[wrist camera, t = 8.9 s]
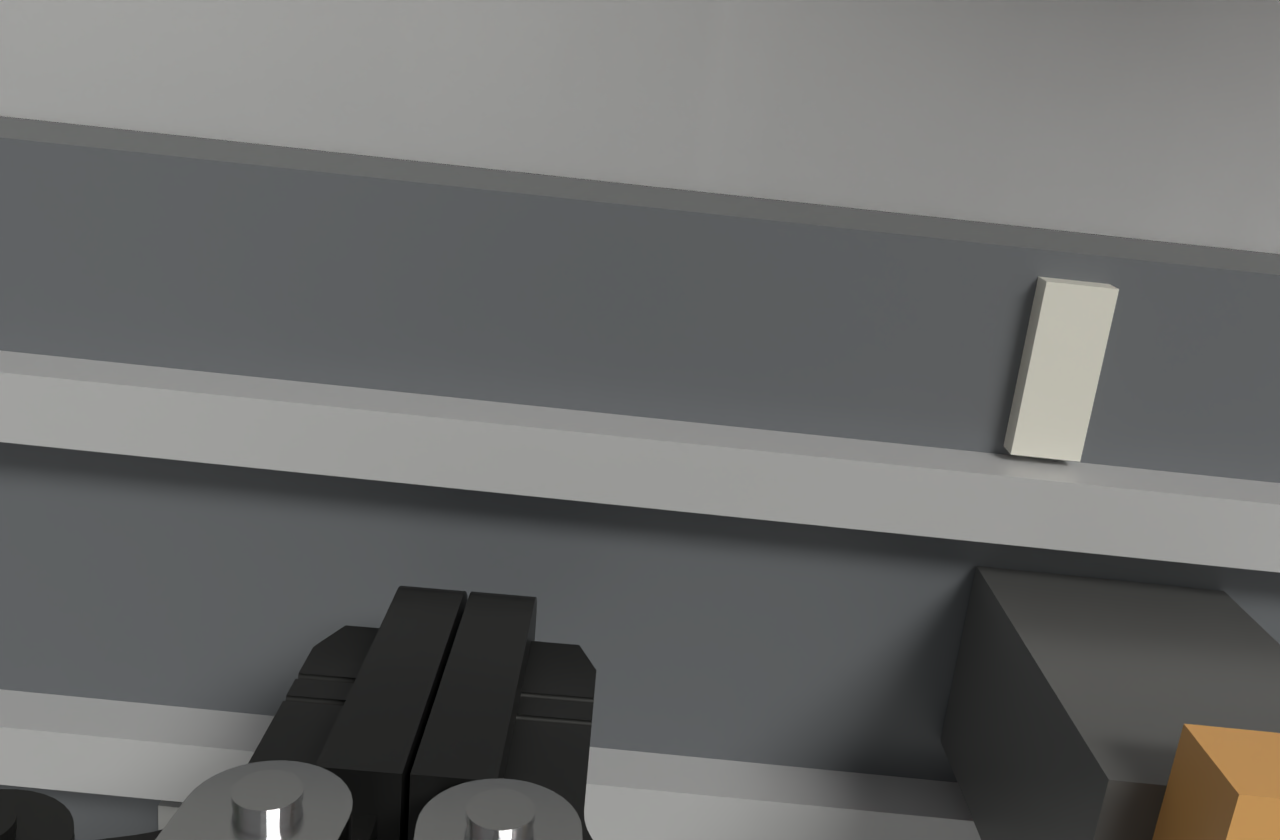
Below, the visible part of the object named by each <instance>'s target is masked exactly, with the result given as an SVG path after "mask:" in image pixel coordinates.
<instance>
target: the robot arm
mask: <svg viewBox="0 0 1280 840" xmlns="http://www.w3.org/2000/svg"><path fill="white" fill-rule="evenodd" d="M536 614H537V597H531V596H519V595H508V594H496V593H484V592H471V593H470V595H469V597H467V592H466V591H458V590H447V589H435V588H423V587H412V586H399V587H398V589H397V591H396V593H395V596H394V598H393V600H392V602H391V604H390V606H389V608H388V611H387V613H386V615H385V617H384V619H383V621H382V624H381V626H380V628H371V627H360V626H348V625H345V626H344V627H342V628H341V629H339V630H338V631H336V632H335V633H333V634H332V635H330V636H329V637H327V638H326V639H324V640H323V641H321V642H320V643H318V644H317V645H315V646H314V647H313V648H312V650H311V652H310V654H309V655H308V657H307V659H306V661H305V662H304V664H303V666H302V668H301V670H300V671H299V673H298V679H295V680H294V682H293V684H292V686H291V688H290V689H289V691H288V693H287V695H286V700H285V701H283V702H282V704H281V705H280V707H279V709H278V711H277V713H276V714H275V716H274V718H273V720H272V722H271V723H270V725H269V727H268V729H267V730H266V732H265V734H264V736H263V738H262V739H261V741H260V743H259V745H258V747H257V748H256V750H255V752H254V754H253V755H252V757H251V759H250V761H249V763H248V764H245V765H240V766H237V767H234V768H231V769H228V770H225V771H223V772H221V773H218V774H216V775H214V776H212V777H211V778H209V779H207V780H206V781H204V782H203V783H201V784H200V785H199V786H198V787H196V788H195V789H194V790H193V791H192V792H191V793H190V794H189V795H188V797H187V798H186V799H185V800H184V802H183V803H182V804H181V806H180V807H179V808H178V810H177V811H176V812H175V814H174V815H173V816H172V818H171V819H170V820H169V822H168V823H167V824H166V826H165V827H164V828H163V829H162V830H158V831H154V832H149V833H143V834H137V835H130V836H122V837H114V838H106V839H98V840H593V839H592V838H591V836H590V834H589V832H588V830H587V827H586V824H585V820H584V806H585V795H586V784H587V772H588V761H589V750H590V738H591V727H592V715H593V704H594V693H595V681H596V669H595V667H594V666H593V664H592V663H591V662H590V660H589V659H588V657H587V656H586V654H585V653H584V651H583V650H582V648H581V647H580V645H574V644H562V643H551V642H539V641H535V629H536ZM0 840H75V834H74V820H73V817H72V815H71V813H70V811H69V810H68V809H67V808H66V806H65V805H64V804H62V803H61V802H59V801H58V800H56V799H55V798H53V797H50V796H48V795H45V794H42V793H38V792H34V791H28V790H19V789H0Z"/></svg>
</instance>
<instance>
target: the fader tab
mask: <svg viewBox="0 0 1280 840" xmlns="http://www.w3.org/2000/svg"><path fill="white" fill-rule="evenodd" d="M941 744H942V746H943V748H944V751H945V753H946V756H947V758H948V761H949V763H950V765H951V768H952V770H953V773H954V775H955V777H956V780H957V782H958V785H959V787H960V790H961V792H962V794H963V797H964V799H965V802H966V804H967V807H968V809H969V811H970V814H971V816H972V819H973V821H974V824H975V826H976V828H977V831H978V833H979V836H980V838H981V840H1280V644H1279V643H1278V642H1277V641H1276V640H1274V639H1273V638H1272V637H1271V636H1270V635H1269V634H1268V633H1267V632H1266V631H1265V630H1264V629H1263V628H1262V627H1261V626H1260V625H1259V624H1258V623H1257V622H1256V621H1255V620H1254V619H1253V618H1252V617H1251V616H1250V615H1248V614H1247V613H1246V612H1245V611H1244V610H1243V609H1242V608H1241V607H1240V606H1239V605H1238V604H1237V603H1236V602H1235V601H1234V600H1233V599H1232V598H1231V597H1230V596H1229V595H1228V594H1227V593H1226V592H1225V591H1220V590H1210V589H1200V588H1190V587H1180V586H1171V585H1161V584H1151V583H1141V582H1131V581H1121V580H1112V579H1102V578H1092V577H1082V576H1072V575H1062V574H1053V573H1043V572H1033V571H1023V570H1013V569H1003V568H993V567H984V566H976V570H975V575H974V580H973V585H972V590H971V594H970V599H969V604H968V609H967V614H966V619H965V624H964V629H963V634H962V638H961V643H960V648H959V653H958V658H957V663H956V668H955V673H954V677H953V682H952V687H951V692H950V697H949V702H948V707H947V712H946V717H945V721H944V726H943V731H942V736H941Z"/></svg>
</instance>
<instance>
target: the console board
mask: <svg viewBox="0 0 1280 840" xmlns="http://www.w3.org/2000/svg"><path fill="white" fill-rule="evenodd" d="M976 566H984V567H993V568H1003V569H1013V570H1023V571H1033V572H1043V573H1053V574H1062V575H1072V576H1082V577H1092V578H1102V579H1112V580H1121V581H1131V582H1141V583H1151V584H1161V585H1171V586H1180V587H1190V588H1200V589H1210V590H1220V591H1225V592H1226V593H1227V594H1228V595H1229V596H1230V597H1231V598H1232V599H1233V600H1234V601H1235V602H1236V603H1237V604H1238V605H1239V606H1240V607H1241V608H1242V609H1243V610H1244V611H1245V612H1246V613H1247V614H1248V615H1250V616H1251V617H1252V618H1253V619H1254V620H1255V621H1256V622H1257V623H1258V624H1259V625H1260V626H1261V627H1262V628H1263V629H1264V630H1265V631H1266V632H1267V633H1268V634H1269V635H1270V636H1271V637H1272V638H1273V639H1274V640H1276V641H1277V642H1278V643H1279V644H1280V254H1270V253H1261V252H1252V251H1243V250H1233V249H1224V248H1215V247H1206V246H1196V245H1187V244H1178V243H1169V242H1159V241H1150V240H1141V239H1132V238H1122V237H1113V236H1104V235H1095V234H1085V233H1076V232H1067V231H1058V230H1048V229H1039V228H1030V227H1020V226H1011V225H1002V224H993V223H983V222H974V221H965V220H956V219H946V218H937V217H928V216H919V215H909V214H900V213H891V212H882V211H872V210H863V209H854V208H845V207H835V206H826V205H817V204H808V203H798V202H789V201H780V200H770V199H761V198H752V197H743V196H733V195H724V194H715V193H706V192H696V191H687V190H678V189H669V188H659V187H650V186H641V185H632V184H622V183H613V182H604V181H595V180H585V179H576V178H567V177H558V176H548V175H539V174H530V173H520V172H511V171H502V170H493V169H483V168H474V167H465V166H456V165H446V164H437V163H428V162H419V161H409V160H400V159H391V158H382V157H372V156H363V155H354V154H345V153H335V152H326V151H317V150H308V149H298V148H289V147H280V146H271V145H261V144H252V143H243V142H233V141H224V140H215V139H206V138H196V137H187V136H178V135H169V134H159V133H150V132H141V131H132V130H122V129H113V128H104V127H95V126H85V125H76V124H67V123H58V122H48V121H39V120H30V119H21V118H11V117H2V116H0V789H19V790H28V791H34V792H38V793H42V794H45V795H48V796H50V797H53V798H55V799H56V800H58V801H59V802H61V803H62V804H64V805H65V806H66V808H67V809H68V810H69V811H70V813H71V815H72V817H73V820H74V834H75V840H98V839H106V838H114V837H122V836H130V835H137V834H143V833H149V832H154V831H158V830H162V829H163V828H164V827H165V826H166V824H167V823H168V822H169V820H170V819H171V818H172V816H173V815H174V814H175V812H176V811H177V810H178V808H179V807H180V806H181V804H182V803H183V802H184V800H185V799H186V798H187V797H188V795H189V794H190V793H191V792H192V791H193V790H194V789H195V788H196V787H198V786H199V785H200V784H201V783H203V782H204V781H206V780H207V779H209V778H211V777H212V776H214V775H216V774H218V773H221V772H223V771H225V770H228V769H231V768H234V767H237V766H240V765H245V764H248V763H249V761H250V759H251V757H252V755H253V754H254V752H255V750H256V748H257V747H258V745H259V743H260V741H261V739H262V738H263V736H264V734H265V732H266V730H267V729H268V727H269V725H270V723H271V722H272V720H273V718H274V716H275V714H276V713H277V711H278V709H279V707H280V705H281V704H282V702H283V701H285V700H286V695H287V693H288V691H289V689H290V688H291V686H292V684H293V682H294V680H295V679H298V673H299V671H300V670H301V668H302V666H303V664H304V662H305V661H306V659H307V657H308V655H309V654H310V652H311V650H312V648H313V647H314V646H315V645H317V644H318V643H320V642H321V641H323V640H324V639H326V638H327V637H329V636H330V635H332V634H333V633H335V632H336V631H338V630H339V629H341V628H342V627H344V626H345V625H348V626H360V627H371V628H380V626H381V624H382V621H383V619H384V617H385V615H386V613H387V611H388V608H389V606H390V604H391V602H392V600H393V598H394V596H395V593H396V591H397V589H398V587H399V586H412V587H423V588H435V589H447V590H458V591H466V592H467V597H469V595H470V593H471V592H484V593H496V594H508V595H519V596H531V597H537V614H536V629H535V641H539V642H551V643H562V644H574V645H580V647H581V648H582V650H583V651H584V653H585V654H586V656H587V657H588V659H589V660H590V662H591V663H592V664H593V666H594V667H595V669H596V681H595V693H594V704H593V715H592V727H591V738H590V750H589V761H588V772H587V784H586V795H585V806H584V820H585V824H586V827H587V830H588V832H589V834H590V836H591V838H592V839H593V840H981V838H980V836H979V833H978V831H977V828H976V826H975V824H974V821H973V819H972V816H971V814H970V811H969V809H968V807H967V804H966V802H965V799H964V797H963V794H962V792H961V790H960V787H959V785H958V782H957V780H956V777H955V775H954V773H953V770H952V768H951V765H950V763H949V761H948V758H947V756H946V753H945V751H944V748H943V746H942V744H941V736H942V731H943V726H944V721H945V717H946V712H947V707H948V702H949V697H950V692H951V687H952V682H953V677H954V673H955V668H956V663H957V658H958V653H959V648H960V643H961V638H962V634H963V629H964V624H965V619H966V614H967V609H968V604H969V599H970V594H971V590H972V585H973V580H974V575H975V570H976Z"/></svg>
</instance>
